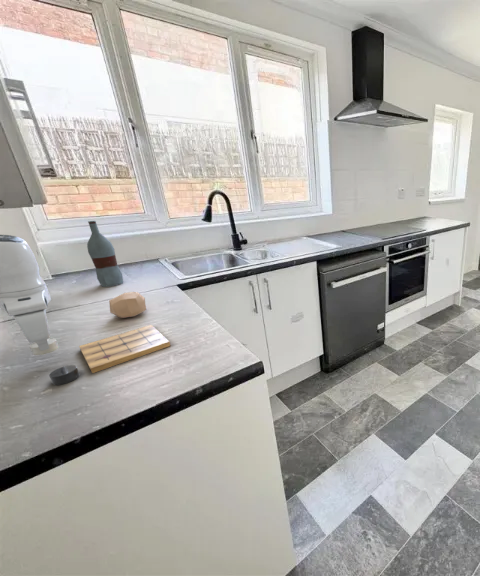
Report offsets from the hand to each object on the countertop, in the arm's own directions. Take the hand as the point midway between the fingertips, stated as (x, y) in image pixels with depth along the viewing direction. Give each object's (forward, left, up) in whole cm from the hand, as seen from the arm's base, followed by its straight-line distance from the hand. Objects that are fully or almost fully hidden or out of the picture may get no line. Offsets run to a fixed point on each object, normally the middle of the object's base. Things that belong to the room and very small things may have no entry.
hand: (43, 345), depth 84 cm
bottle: (-41, +65, -5) cm, 77 cm away
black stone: (+12, -8, -5) cm, 15 cm away
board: (+15, +7, -5) cm, 18 cm away
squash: (-5, +33, -5) cm, 34 cm away
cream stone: (0, 0, -2) cm, 2 cm away
